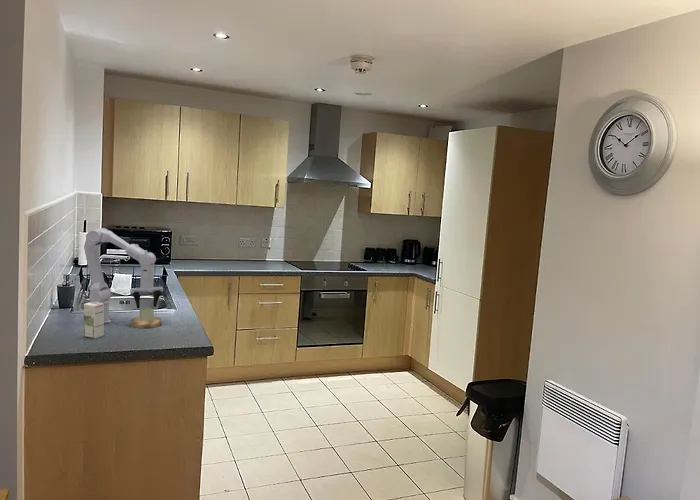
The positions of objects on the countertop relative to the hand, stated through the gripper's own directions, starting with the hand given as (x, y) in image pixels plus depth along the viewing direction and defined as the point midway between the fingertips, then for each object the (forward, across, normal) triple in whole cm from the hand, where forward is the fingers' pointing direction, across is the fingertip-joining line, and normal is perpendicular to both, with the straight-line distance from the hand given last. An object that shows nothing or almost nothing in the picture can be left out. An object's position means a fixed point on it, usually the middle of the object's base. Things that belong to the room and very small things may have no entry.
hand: (146, 307), depth 252 cm
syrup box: (+9, -25, -10) cm, 28 cm away
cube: (+6, 0, 0) cm, 6 cm away
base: (+8, 0, 0) cm, 8 cm away
